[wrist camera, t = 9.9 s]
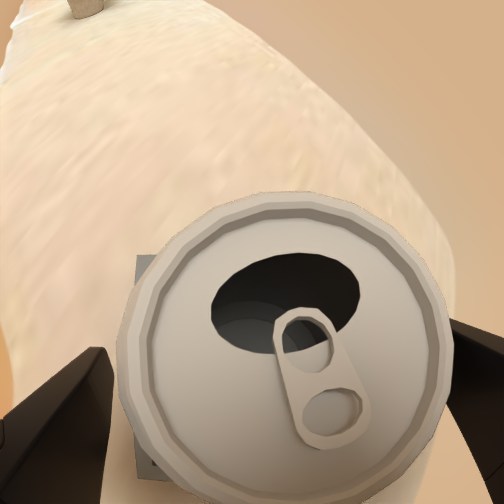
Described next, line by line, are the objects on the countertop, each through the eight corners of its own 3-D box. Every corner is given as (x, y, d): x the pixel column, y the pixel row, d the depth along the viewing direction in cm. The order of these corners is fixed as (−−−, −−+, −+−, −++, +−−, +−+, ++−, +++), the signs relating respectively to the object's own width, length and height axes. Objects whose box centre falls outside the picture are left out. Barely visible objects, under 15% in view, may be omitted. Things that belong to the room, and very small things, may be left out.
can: (295, 290, 18) (399, 146, 7) (333, 414, 15) (505, 437, 4) (165, 320, 16) (70, 198, 5) (199, 452, 13) (158, 582, 3)
